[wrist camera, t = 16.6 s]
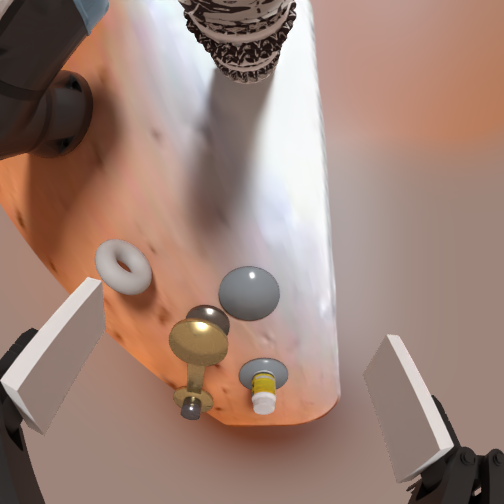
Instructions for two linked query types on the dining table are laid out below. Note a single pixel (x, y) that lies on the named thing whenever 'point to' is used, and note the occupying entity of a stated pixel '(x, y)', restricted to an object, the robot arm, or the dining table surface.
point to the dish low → (263, 364)
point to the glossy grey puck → (249, 293)
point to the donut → (116, 274)
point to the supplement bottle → (263, 392)
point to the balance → (198, 355)
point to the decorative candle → (241, 34)
